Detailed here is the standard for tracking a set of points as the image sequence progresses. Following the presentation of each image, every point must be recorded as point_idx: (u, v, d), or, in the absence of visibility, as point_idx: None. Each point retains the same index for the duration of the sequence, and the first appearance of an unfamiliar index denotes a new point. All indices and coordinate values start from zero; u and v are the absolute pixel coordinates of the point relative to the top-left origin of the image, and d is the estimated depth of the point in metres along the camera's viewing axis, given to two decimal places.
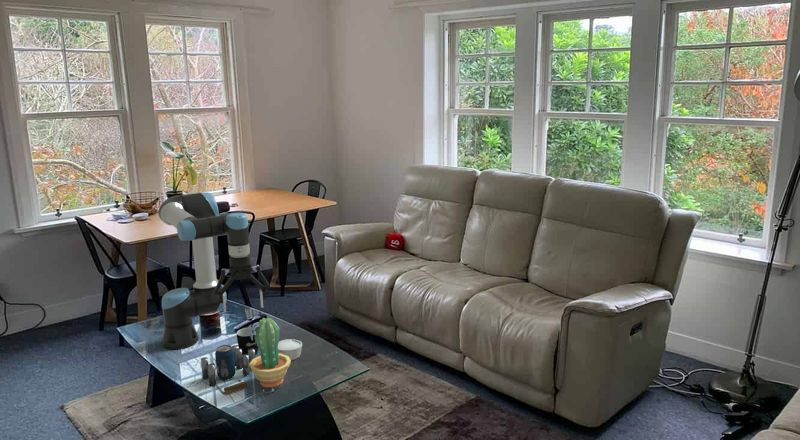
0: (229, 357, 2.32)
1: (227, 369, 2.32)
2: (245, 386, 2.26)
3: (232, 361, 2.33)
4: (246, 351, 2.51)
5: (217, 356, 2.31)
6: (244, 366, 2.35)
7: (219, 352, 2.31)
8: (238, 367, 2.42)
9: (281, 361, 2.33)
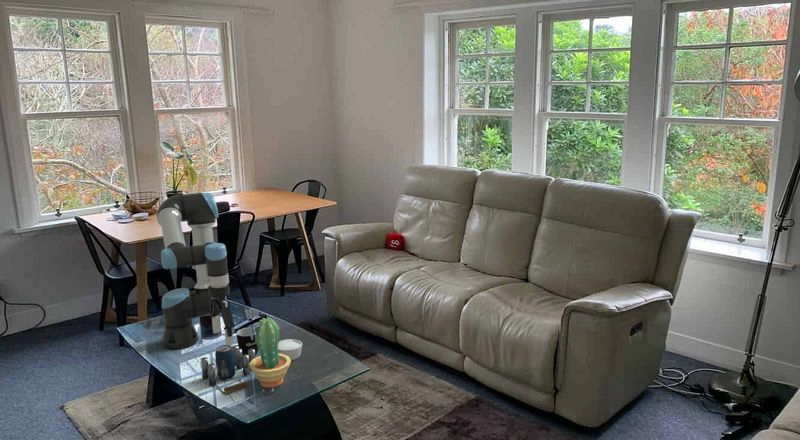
0: (229, 358, 2.32)
1: (227, 369, 2.32)
2: (245, 386, 2.26)
3: (232, 361, 2.33)
4: (246, 351, 2.51)
5: (217, 356, 2.31)
6: (244, 366, 2.35)
7: (219, 352, 2.31)
8: (238, 367, 2.42)
9: (281, 361, 2.33)
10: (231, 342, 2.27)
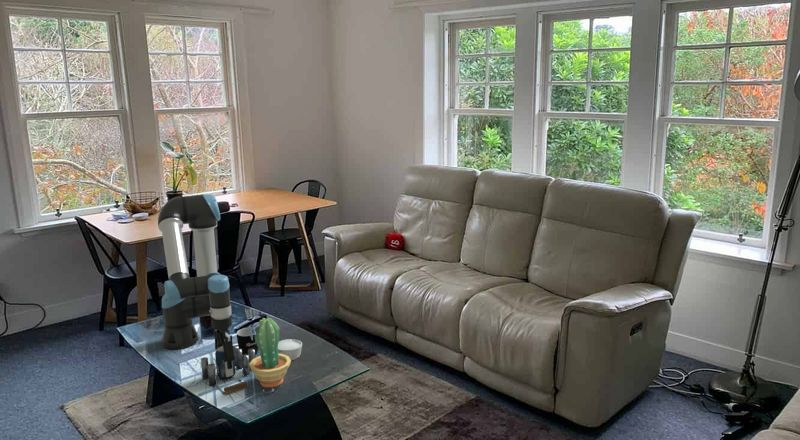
0: None
1: None
2: (245, 386, 2.26)
3: (232, 361, 2.33)
4: (246, 351, 2.51)
5: (217, 356, 2.31)
6: (244, 366, 2.35)
7: (219, 352, 2.31)
8: (238, 367, 2.42)
9: (281, 361, 2.33)
10: (231, 374, 2.32)
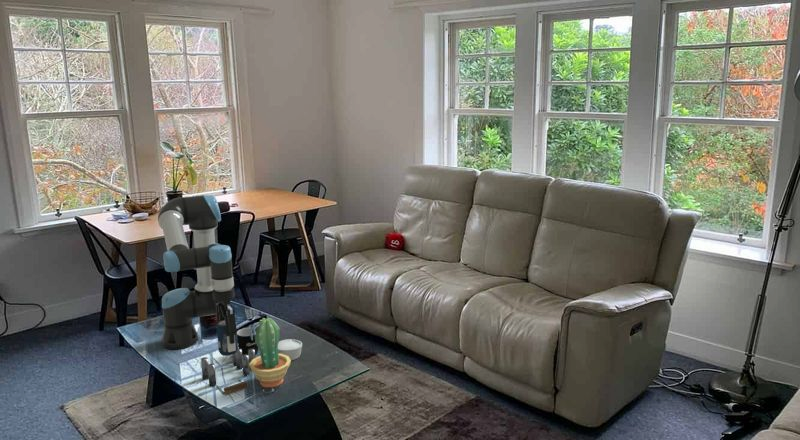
0: None
1: None
2: (245, 386, 2.26)
3: None
4: (246, 351, 2.51)
5: (219, 330, 2.21)
6: (244, 366, 2.35)
7: (221, 326, 2.20)
8: (238, 367, 2.42)
9: (281, 361, 2.33)
10: (233, 349, 2.22)
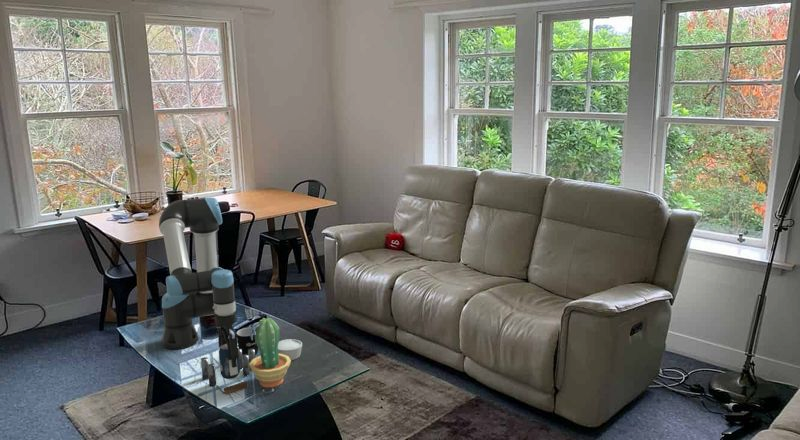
0: None
1: None
2: (245, 386, 2.26)
3: None
4: (246, 351, 2.51)
5: (221, 354, 2.23)
6: (244, 366, 2.35)
7: (223, 350, 2.22)
8: None
9: (281, 361, 2.33)
10: (235, 373, 2.24)
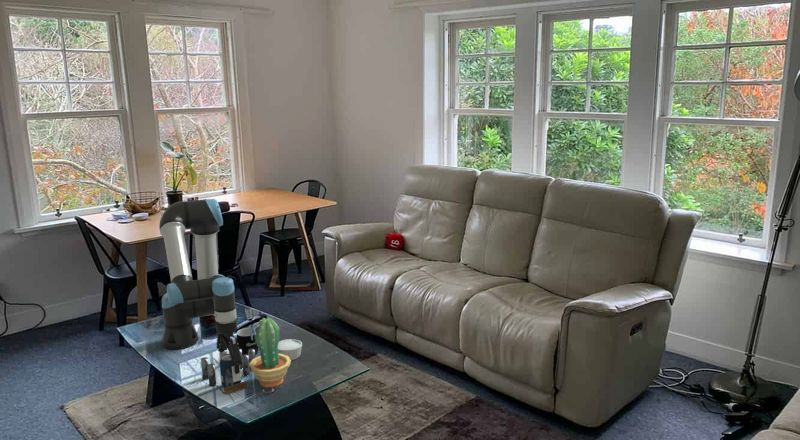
0: None
1: (232, 379, 2.25)
2: (245, 386, 2.26)
3: None
4: (246, 351, 2.51)
5: (222, 365, 2.24)
6: (244, 366, 2.35)
7: (224, 361, 2.23)
8: None
9: (281, 361, 2.33)
10: (238, 379, 2.22)
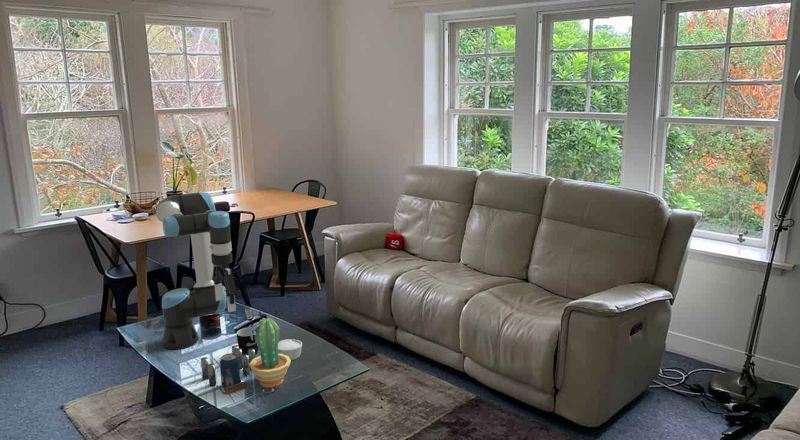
0: (235, 366, 2.24)
1: (232, 379, 2.25)
2: (245, 386, 2.26)
3: (237, 370, 2.26)
4: (246, 351, 2.51)
5: (222, 365, 2.24)
6: (244, 366, 2.35)
7: (224, 361, 2.23)
8: None
9: (281, 361, 2.33)
10: (233, 309, 2.29)
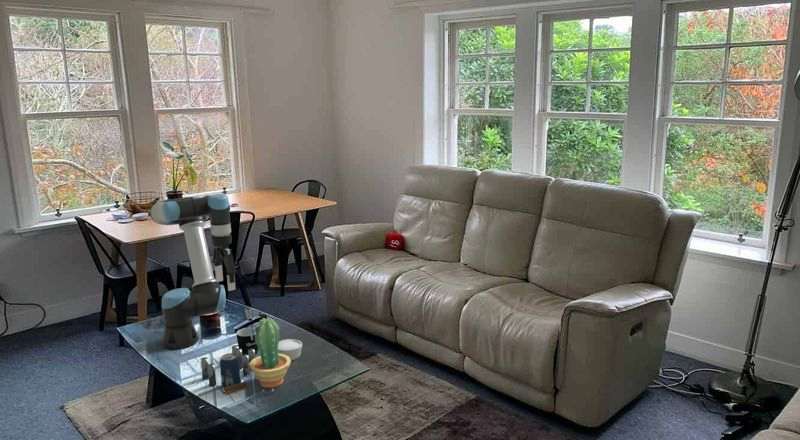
0: (235, 366, 2.24)
1: (232, 379, 2.25)
2: (245, 386, 2.26)
3: (237, 370, 2.26)
4: (246, 351, 2.51)
5: (222, 365, 2.24)
6: (244, 366, 2.35)
7: (224, 361, 2.24)
8: None
9: (281, 361, 2.33)
10: (233, 288, 2.39)
